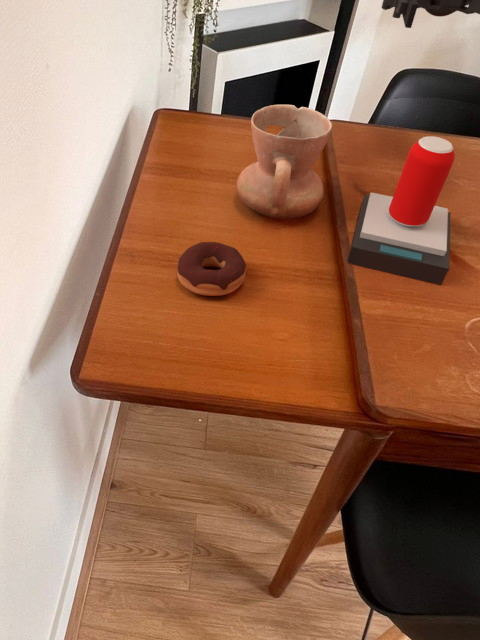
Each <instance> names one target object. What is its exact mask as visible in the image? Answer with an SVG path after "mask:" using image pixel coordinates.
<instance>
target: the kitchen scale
mask: <svg viewBox="0 0 480 640" xmlns="http://www.w3.org/2000/svg"><path fill="white" fill-rule="evenodd" d="M392 198H393V196H391V195H385V194H381V193H376V192H371V191H370V193H369V194H364V195H363V198H362V201H361V205H360V207H359V212H358V216H357V221H356V222H355V223H356V224H355V227H354V231H353V236H352V239H351V244H350V247H349V248H350V249H349V252H348V257H347V260H346V263H347V262H349V263H352V264H351V265H353V264H354V266H358V267H362V268H366V269H371V270H375V271H379V272H384V273H388V274H392V275H396V276H401V277H405V278H409V279H412V280H413V279H414V280H418V281H421V282H426V283H430V284H435V285H438V286H439V285H440V286H442V284H443V282H444V280H445V278H446V276H447V274H448V273H449V271H450V258H451V257H450V254H451V253H450V252H451V251H450V249H451V216H452V215H451V212H450V211H449V208H447V207H442V206H438V205H435V206H434V209H433V211H432V213H431V215H430V218H429V220H428V221H427V222H426V223H425V224H423V225H421V226H414V227H408V226H404V225H401V224H399V223H397V222H396V221H395V220H393V219H392V218H391V216H390V214H389V207H390V204H391V201H392ZM349 263H348V264H349Z"/></svg>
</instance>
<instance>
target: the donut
mask: <svg viewBox="0 0 480 640" xmlns="http://www.w3.org/2000/svg"><path fill="white" fill-rule="evenodd" d="M206 267H207V268H208V267H212V268H217V269H206ZM246 272H247V264H246V261H245V259H244V257H243V255H242V254H241V253H240V251H238V249H237V248H235V247H234V246H230V245H227V244H225V243H221V242H217V241H200V242H198V243H196V244H193V245H192V246H190V247H188V248H187V249H185V250H184V251H183V253H182V254H181V255H180V257H179V259H178V262H177V273H176V275H177V279H178V281H179V283H180V284H181V285H182V286H183V287H184V288H185V289H187V290H188V291H190V292H192V293H194V294H196V295H200V296H209V297H210V296H211V297H215V296H216V297H217V296H224V295H225V296H226V295H228V294H231V293H232V292H234V291H236V290H237V289H239V288H240V286H241V285H243V283H244V281H245V280H246V275H247V273H246Z"/></svg>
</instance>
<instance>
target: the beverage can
mask: <svg viewBox="0 0 480 640" xmlns="http://www.w3.org/2000/svg"><path fill="white" fill-rule="evenodd" d="M455 156H456V155H455V148H454V145H453V144H452V143H451V142H450V141H449V140H447V139H445V138H443V137H439V136H435V135H434V136H433V135H431V136H430V135H429V136H427V135H426V136H424V137H421V138H419V139H418V140H417V141H416V142H415V143H414V144H413V145H412V146H411V147H410V149H409V151H408V154H407V157H406V159H405V163H404V166H403V168H402V171H401V174H400V176H399V179H398V182H397V184H396V187H395V190H394V193H393V195H392V197H393V198H392V201H391V204H390V207H389V214H390V216H391V218H392V219H393V220H395V221H396V222H397V223H399V224H401V225H404V226H408V227H414V226H421V225H423V224H425V223H426V222H427V221H428V220H429V218H430V215H431V213H432V211H433V209H434V206H436V204H437V201H438V200H439V197H440V195H441V192H442V190H443V188H444V185H445V183H446V180H447V178H448V176H449V173H450V171H451V169H452V166H453V164H454V162H455Z"/></svg>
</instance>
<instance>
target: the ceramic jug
mask: <svg viewBox="0 0 480 640" xmlns="http://www.w3.org/2000/svg"><path fill="white" fill-rule="evenodd" d="M269 126H276V127H282V129H281V130H280V131H279V132H278V133H277V134H273V133H270V132H267V129H266V128H267V127H269ZM250 127H251V137H252V142H253V146H254V151H255V155H256V158H257V161H255V162H252V163H251V164H249V165H247V166H246V167H245V168H243V170H242V171H241V172H240V173H239V175H238V177H237V180H236V193H237V195H238V197H239V200H240V201H241V202H242V203H243V204H244V205H245V207H247V208H248V209H250V210H251V211H254V212H256V213H257V214H259V215H262V216H265V217H268V218H271V219H280V220H284V219H285V220H288V219H296V218H300V217H304V216H306V215H309V214H311V213H312V212H313V211H314V210H316V209H317V208H318V206H319V205H320V204H321V202H322V200H323V197H324V194H325V193H324V191H325V190H324V185H323V181H322V180H321V178H320V176H319V174H318V173H316V171H315V170H314V169H312V167H313V166H314V165H315V163H316V162H317V161H318V159H319V157H320V156H321V154H322V152H323V150H324V149H325V146H326V144H327V142H328V141H329V138H330V135H331V133H332V129H333V123H332V122H331V120H330V118H328V117H327V116H326V115H325V114H323V113H321V112H319V111H318V110H315V109H313V108H308V107H307V106H306V107H305V106H301V107H297V106H295V105H293V104H273V105H272V104H271V105H268V106H264V107H261V108H259V109H257V110H256V111H255V112H254V113H253V114H252V116H251V120H250Z"/></svg>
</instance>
